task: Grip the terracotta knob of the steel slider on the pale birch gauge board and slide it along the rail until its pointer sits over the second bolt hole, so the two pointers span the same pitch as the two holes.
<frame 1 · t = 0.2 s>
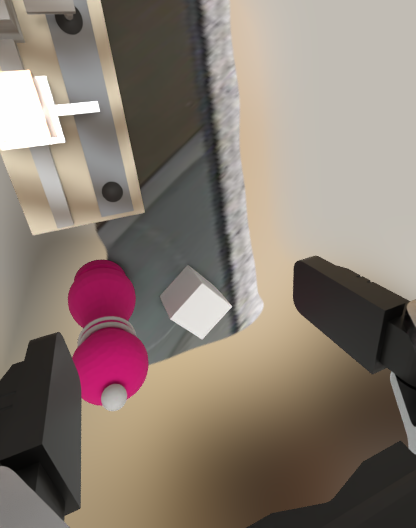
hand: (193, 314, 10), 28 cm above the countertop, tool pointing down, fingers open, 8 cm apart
gauge board: (63, 125, 30), on the countertop
white cube: (187, 290, 43), on the countertop
pepper mill: (100, 281, 37), on the countertop
slider: (43, 109, 23), point 7 cm above the countertop, slide at 0.0 cm
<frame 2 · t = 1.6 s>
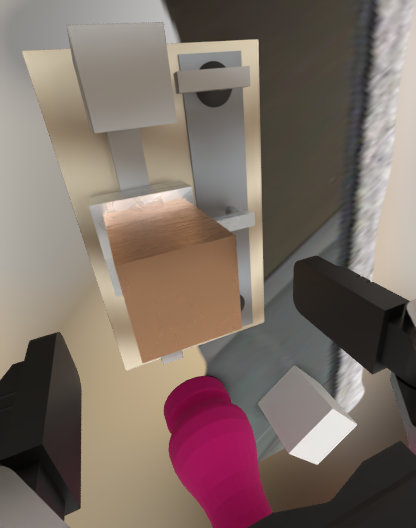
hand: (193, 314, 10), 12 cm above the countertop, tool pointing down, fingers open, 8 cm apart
gauge board: (176, 223, 21), on the countertop
white cube: (287, 390, 34), on the countertop
pepper mill: (194, 398, 29), on the countertop
slider: (195, 247, 14), point 7 cm above the countertop, slide at 0.0 cm
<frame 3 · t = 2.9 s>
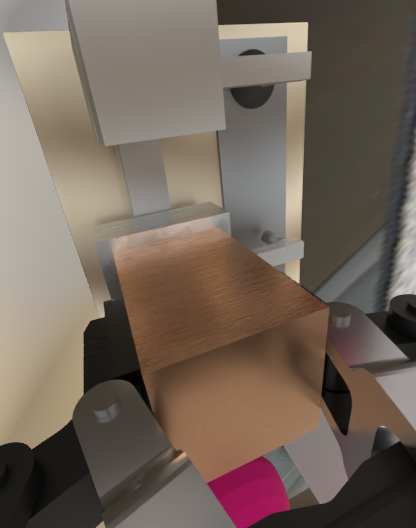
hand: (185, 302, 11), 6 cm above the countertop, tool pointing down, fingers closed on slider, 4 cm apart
gauge board: (197, 250, 17), on the countertop
white cube: (315, 427, 30), on the countertop
pepper mill: (212, 443, 25), on the countertop
slider: (237, 295, 11), point 7 cm above the countertop, slide at 0.0 cm, touching gripper
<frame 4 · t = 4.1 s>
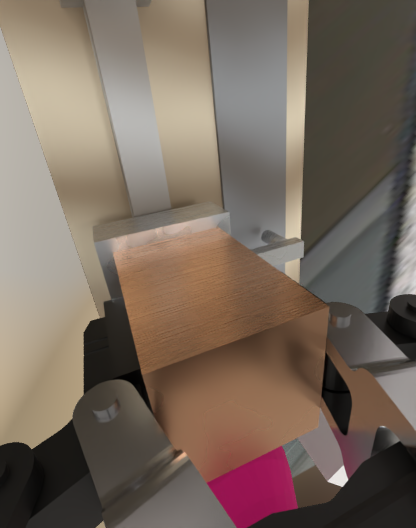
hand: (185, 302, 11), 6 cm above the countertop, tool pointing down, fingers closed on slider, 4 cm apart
gauge board: (187, 177, 15), on the countertop
white cube: (317, 400, 29), on the countertop
pepper mill: (207, 411, 23), on the countertop
slider: (237, 295, 11), point 7 cm above the countertop, slide at 4.1 cm, touching gripper
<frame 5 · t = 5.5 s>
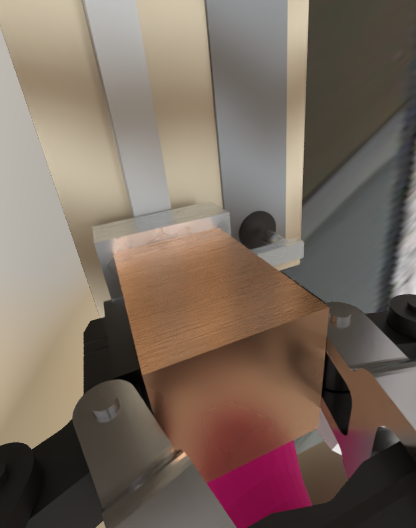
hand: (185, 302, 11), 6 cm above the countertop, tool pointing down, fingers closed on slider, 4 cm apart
gauge board: (175, 91, 13), on the countertop
white cube: (319, 371, 27), on the countertop
pepper mill: (201, 376, 21), on the countertop
slider: (237, 295, 11), point 7 cm above the countertop, slide at 8.0 cm, touching gripper
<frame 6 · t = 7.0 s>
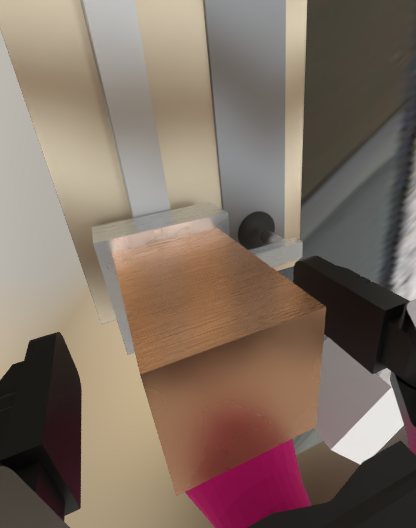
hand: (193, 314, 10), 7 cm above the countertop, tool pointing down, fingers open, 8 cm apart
gauge board: (174, 92, 13), on the countertop
white cube: (319, 371, 27), on the countertop
pepper mill: (200, 376, 21), on the countertop
slider: (236, 295, 11), point 7 cm above the countertop, slide at 8.0 cm
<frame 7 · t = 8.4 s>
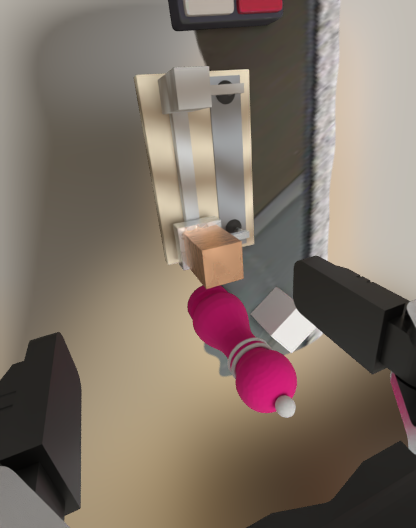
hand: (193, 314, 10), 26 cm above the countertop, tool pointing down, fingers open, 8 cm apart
gauge board: (201, 173, 35), on the countertop
white cube: (272, 308, 48), on the countertop
pepper mill: (207, 301, 43), on the countertop
slider: (222, 247, 32), point 7 cm above the countertop, slide at 8.0 cm
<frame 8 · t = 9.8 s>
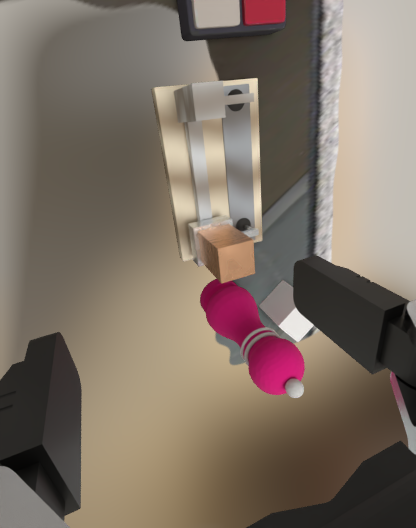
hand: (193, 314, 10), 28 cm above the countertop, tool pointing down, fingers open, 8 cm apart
gauge board: (212, 175, 37), on the countertop
white cube: (279, 300, 51), on the countertop
pepper mill: (218, 295, 45), on the countertop
slider: (234, 244, 35), point 7 cm above the countertop, slide at 8.0 cm
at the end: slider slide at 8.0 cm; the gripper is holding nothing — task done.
